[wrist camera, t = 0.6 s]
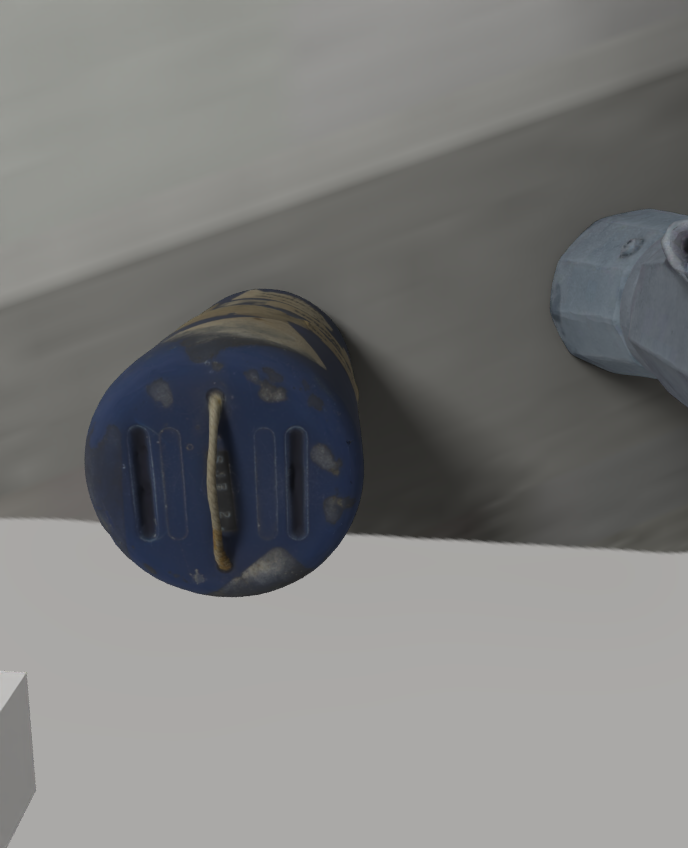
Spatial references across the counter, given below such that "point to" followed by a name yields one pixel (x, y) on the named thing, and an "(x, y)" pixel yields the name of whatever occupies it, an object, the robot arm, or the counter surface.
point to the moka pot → (628, 297)
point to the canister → (231, 448)
